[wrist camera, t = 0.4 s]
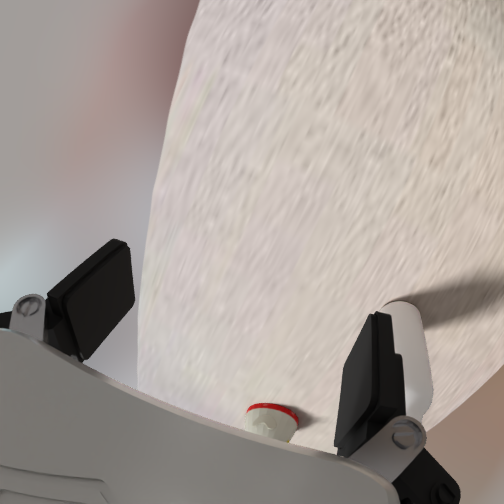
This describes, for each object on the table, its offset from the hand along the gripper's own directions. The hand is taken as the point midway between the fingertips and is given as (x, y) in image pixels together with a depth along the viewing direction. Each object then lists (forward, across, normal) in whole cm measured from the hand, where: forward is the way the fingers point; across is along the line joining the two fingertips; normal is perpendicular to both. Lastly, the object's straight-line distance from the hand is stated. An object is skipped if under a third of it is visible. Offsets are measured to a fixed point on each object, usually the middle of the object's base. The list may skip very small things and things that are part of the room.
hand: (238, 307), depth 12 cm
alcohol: (+36, -21, +26) cm, 49 cm away
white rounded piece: (+36, -6, +68) cm, 77 cm away
